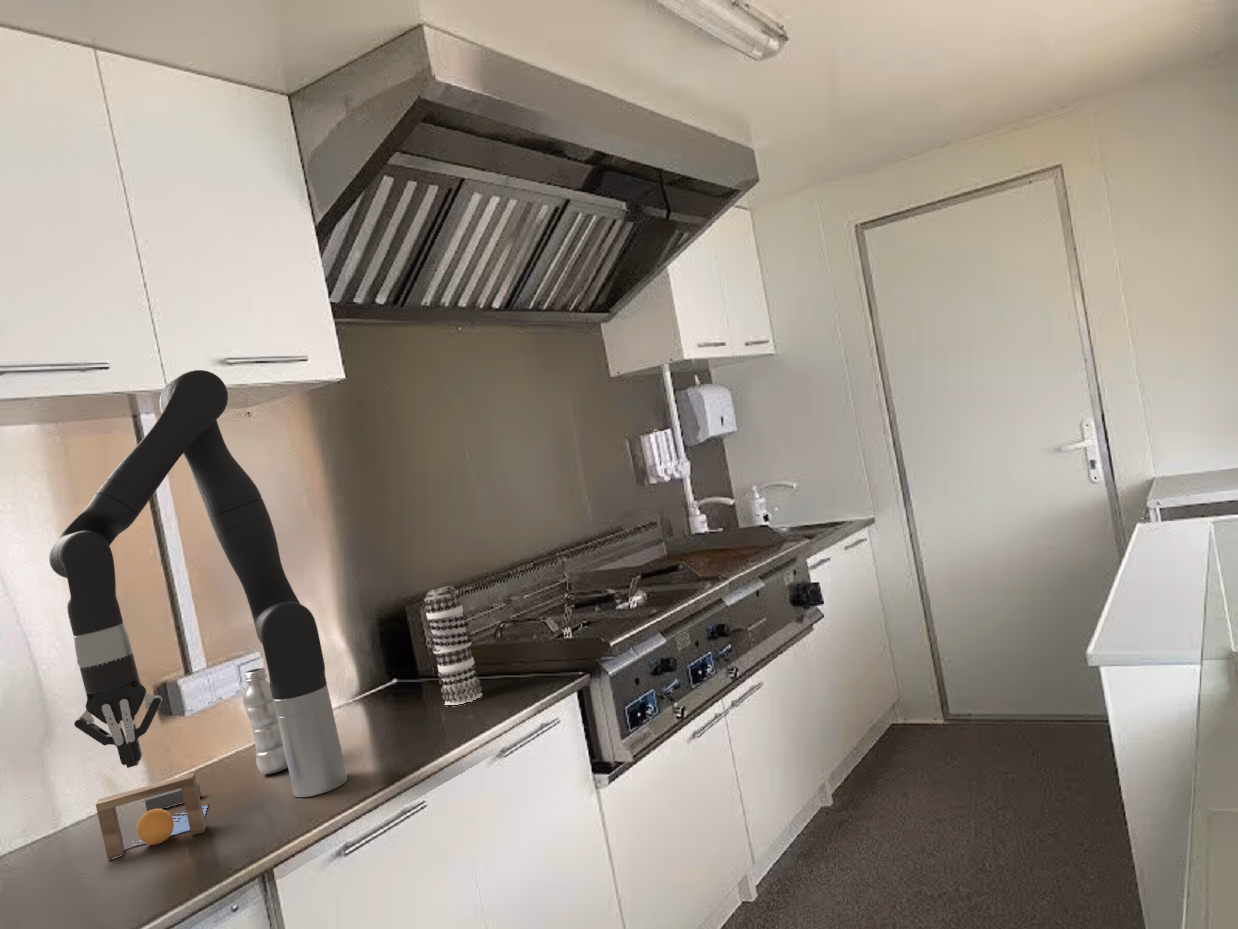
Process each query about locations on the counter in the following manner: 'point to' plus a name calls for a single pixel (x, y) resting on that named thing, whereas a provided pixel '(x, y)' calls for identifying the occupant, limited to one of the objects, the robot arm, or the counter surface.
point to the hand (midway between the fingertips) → (132, 765)
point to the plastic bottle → (264, 723)
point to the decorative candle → (451, 646)
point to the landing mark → (180, 824)
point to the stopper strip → (166, 799)
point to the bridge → (108, 804)
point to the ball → (155, 826)
